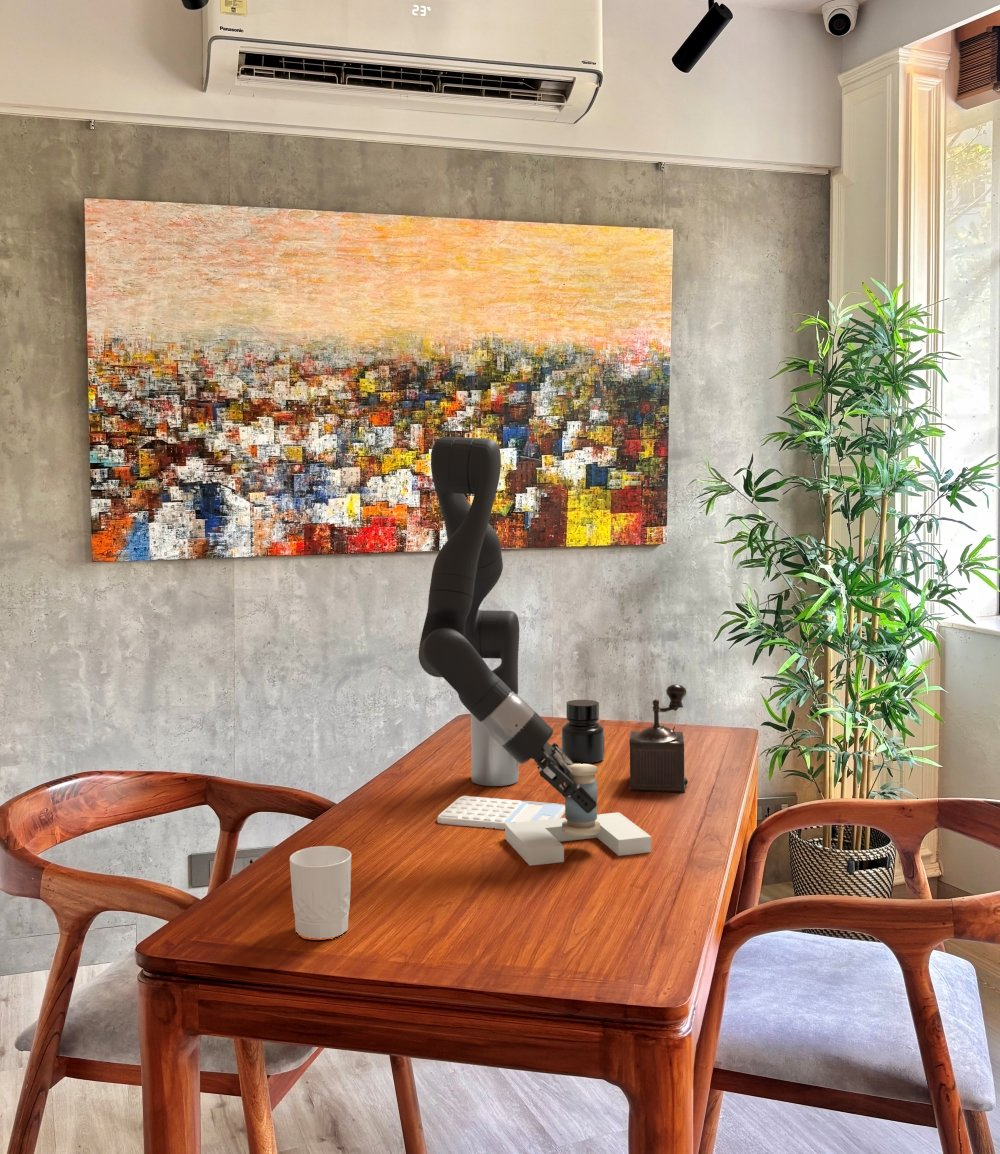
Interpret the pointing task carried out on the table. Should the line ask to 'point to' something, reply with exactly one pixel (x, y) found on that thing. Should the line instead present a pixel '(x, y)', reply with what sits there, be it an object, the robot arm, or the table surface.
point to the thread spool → (574, 814)
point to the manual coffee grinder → (659, 752)
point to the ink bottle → (583, 732)
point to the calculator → (497, 812)
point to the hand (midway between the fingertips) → (592, 803)
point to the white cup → (321, 890)
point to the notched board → (573, 838)
